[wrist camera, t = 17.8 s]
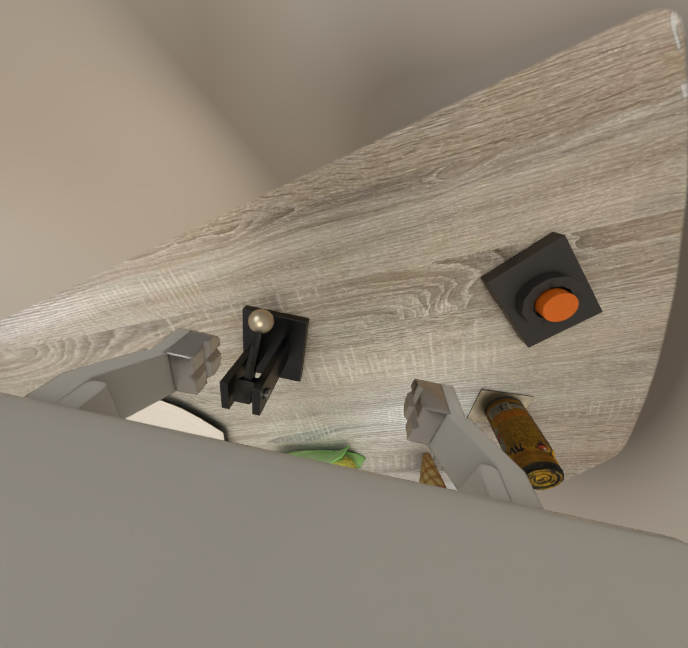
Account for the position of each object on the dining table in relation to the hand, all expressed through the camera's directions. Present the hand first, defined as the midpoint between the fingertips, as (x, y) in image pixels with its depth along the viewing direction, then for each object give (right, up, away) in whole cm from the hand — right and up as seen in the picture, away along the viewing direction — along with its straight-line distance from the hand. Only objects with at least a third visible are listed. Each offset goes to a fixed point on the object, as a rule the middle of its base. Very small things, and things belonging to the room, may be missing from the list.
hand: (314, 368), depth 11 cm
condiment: (+28, -12, +33) cm, 45 cm away
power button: (+26, +4, +20) cm, 33 cm away
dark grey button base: (+27, +6, +23) cm, 36 cm away
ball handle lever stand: (-10, -1, +32) cm, 34 cm away
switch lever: (-10, -2, +24) cm, 26 cm away
